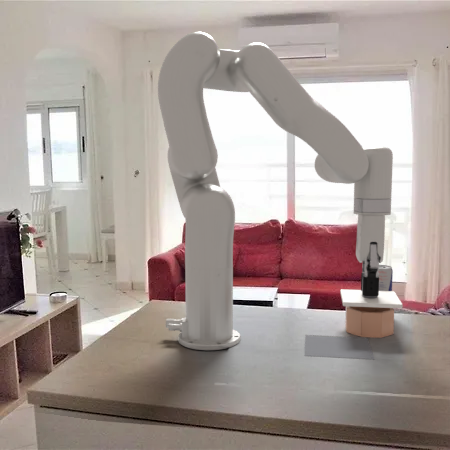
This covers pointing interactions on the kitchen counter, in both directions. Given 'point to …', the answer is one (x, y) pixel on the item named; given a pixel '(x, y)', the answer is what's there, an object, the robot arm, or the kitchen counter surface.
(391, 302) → the lid
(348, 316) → the bowl
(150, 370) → the kitchen counter surface
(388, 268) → the energy drink
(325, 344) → the mat
